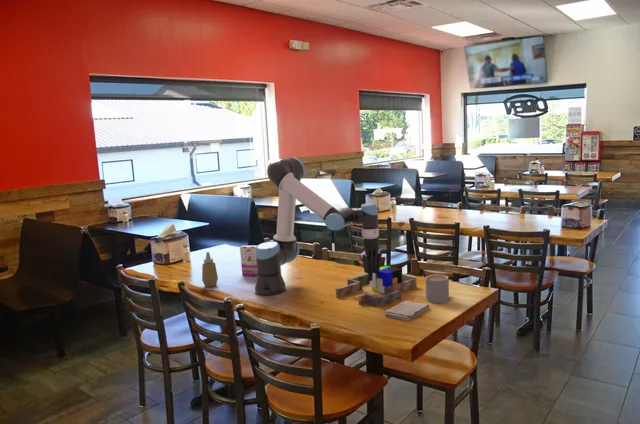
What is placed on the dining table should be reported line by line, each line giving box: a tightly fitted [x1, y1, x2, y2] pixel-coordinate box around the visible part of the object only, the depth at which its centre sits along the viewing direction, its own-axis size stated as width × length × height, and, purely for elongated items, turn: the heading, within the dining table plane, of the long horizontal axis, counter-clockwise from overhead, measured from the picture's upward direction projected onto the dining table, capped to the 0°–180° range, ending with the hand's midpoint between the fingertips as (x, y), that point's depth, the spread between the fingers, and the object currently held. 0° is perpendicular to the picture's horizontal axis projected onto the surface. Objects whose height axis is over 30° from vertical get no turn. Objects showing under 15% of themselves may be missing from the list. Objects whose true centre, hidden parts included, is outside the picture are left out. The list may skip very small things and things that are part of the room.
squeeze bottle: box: [201, 251, 219, 288], centre depth 273 cm, size 8×8×18 cm
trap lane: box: [335, 272, 418, 308], centre depth 249 cm, size 36×32×5 cm
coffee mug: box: [424, 273, 450, 304], centre depth 234 cm, size 13×10×10 cm
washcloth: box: [384, 300, 430, 322], centre depth 220 cm, size 12×18×3 cm, turn 142°
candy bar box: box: [239, 244, 258, 277], centre depth 290 cm, size 11×5×16 cm, turn 68°
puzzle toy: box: [371, 265, 403, 294], centre depth 251 cm, size 10×10×10 cm
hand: (372, 286), depth 247 cm, fingers closed
